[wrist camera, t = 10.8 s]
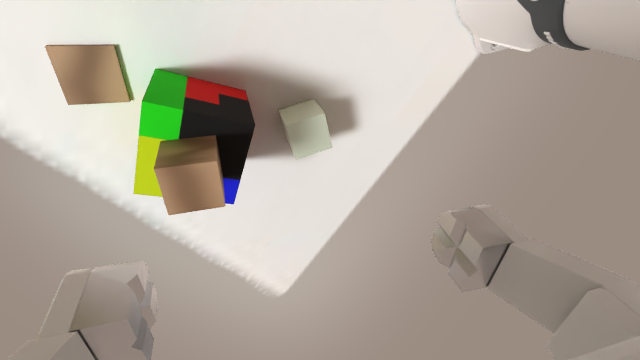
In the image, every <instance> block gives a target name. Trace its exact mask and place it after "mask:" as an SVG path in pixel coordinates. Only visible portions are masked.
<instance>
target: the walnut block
mask: <svg viewBox="0 0 640 360" xmlns="http://www.w3.org/2000/svg"><path fill="white" fill-rule="evenodd" d="M154 171H155V174H156V177H157V180H158V184H159V187H160V190H161V193H162V196H163V199H164V202H165V205H166V208H167V211H168V215H173V214H180V213H186V212H192V211H199V210H205V209H212V208H218V207H224V206H225V195H224V182H223V174H222V168H221V163H220V157H219V152H218V146H217V141H216V135H213V136H203V137H194V138H184V139H175V140H165V141H160V145H159V149H158V153H157V158H156V162H155V166H154Z"/></svg>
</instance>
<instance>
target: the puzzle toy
mask: <svg viewBox="0 0 640 360" xmlns="http://www.w3.org/2000/svg"><path fill="white" fill-rule="evenodd" d="M254 127H255V123H254V119H253V116H252V112H251V109H250V105H249V101H248V98H247V94H246V91H244V90H240V89H236V88H232V87H228V86H224V85H220V84H216V83H212V82H208V81H204V80H200V79H196V78H192V77H187V76H183V75H179V74H175V73H171V72H167V71H163V70H159V69H155V71H154V73H153V76H152V78H151V81H150V83H149V85H148V88H147V90H146V93H145V95H144V97H143V100H142V106H141V117H140V128H139V139H138V151H137V162H136V173H135V184H134V194H141V195H151V196H160V197H163V196H162V193H161V190H160V187H159V184H158V180H157V177H156V174H155V171H154V166H155V162H156V158H157V153H158V149H159V145H160V141H165V140H175V139H184V138H194V137H203V136H213V135H216V141H217V146H218V152H219V157H220V163H221V168H222V174H223V182H224V195H225V203H227V204H234V201H235V198H236V194H237V190H238V186H239V183H240V179H241V175H242V172H243V168H244V164H245V161H246V157H247V153H248V150H249V146H250V142H251V138H252V135H253V131H254Z"/></svg>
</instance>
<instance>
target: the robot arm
mask: <svg viewBox="0 0 640 360" xmlns="http://www.w3.org/2000/svg"><path fill="white" fill-rule="evenodd" d="M456 5H457V10H458V13H459V16H460V18H461V20H462V22H463V24H464V25H465V26H466V27H467V29H468V30H469V31H470V32H471V33H472V35H473V38H474V43H475V47H476V50H477V51H478V52H479V53H483V54H489V53H493V52H497V51H501V50H505V49H509V48H513V49H517V50H521V51H526V52H531V51H532V50H533V49H537V48H541V47H544V46H547V45H550V44H553V45H556V46H557V47H560V48H564V49H575V50H582V51H583V50H590V49H593V50H597V51H601V52H605V53H609V54H613V55H617V56H620V57H624V58H628V59H632V60H635V61H639V62H640V0H456ZM437 222H438V224H439V226H440V227H439V228H438V229H437V230H436V231H435V232H434V233H433V237H432V241H431V243H432V250H433V253H434V255H435V257H436V258H437V260H438V261H439V262H440V263H441V264H443V265H445V266H447V267H448V268H449V276H450V277H451V278H452V280H453V281H454V282H455V284H456V285H457V286H458V288H459V289H460V290H461V292H467V291H472V290H476V289H481V288H486V287H488V290H489V291H491V292H493V293H494V294H496V295H497V296H498V297H500V298H502V299H503V300H504V301H506V302H507V303H509V304H510V305H512V306H513V307H515V308H516V309H518V310H519V311H521V312H523V313H524V314H525V315H527V316H528V317H530V318H531V319H533V320H534V321H536V322H537V323H539V324H541V325H542V326H543V327H545V328H546V329H548V330H549V331H551V332H553V333H554V334H553V336H552V337H551V338H550V339H549V341H548V342H547V344H546V349H547V350H548V352H549V353H550V354H551V355H552V356H553V358H554V359H555V360H640V287H639V286H638V285H636V284H635V283H634V282H632V281H631V280H630V279H628V278H626V277H623V276H621V275H619V274H616V273H614V272H611V271H609V270H607V269H604V268H602V267H600V266H597V265H595V264H593V263H590V262H588V261H585V260H583V259H581V258H578V257H576V256H573V255H571V254H569V253H566V252H564V251H561V250H559V249H557V248H554V247H552V246H550V245H547V244H545V243H543V242H540V241H538V240H535V239H531V240H530V239H529V238H527V237H526V236H525V235H524V234H523V233H522V232H521V231H519V230H518V229H517V228H516V227H515V226H514V225H513V224H511V223H510V222H509V221H508V220H507V219H506V218H505V217H503V215H501V214H500V213H499V212H498V211H497V210H496V209H495V208H493V207H492V206H490V205H487V204H486V205H480V206H474V207H469V208H463V209H457V210H451V211H445V212H443V213H442V214H441V215H440V216H439V219H438V221H437ZM148 273H149V270H148V268H147V265H146V263H145V261H135V262H129V263H121V264H114V265H106V266H99V267H95V268H88V269H81V270H74V271H69V272H68V273H67V274H66V275H65V276H64V277H63V279H62V282H61V284H60V286H59V288H58V291H57V293H56V295H55V297H54V300H53V302H52V304H51V307H50V309H49V311H48V313H47V316H46V318H45V320H44V322H43V325H42V327H41V329H40V332H39V334H38V336H37V338H36V339H35V340H30V341H27V342H26V343H25V344H24V345H23V346H22V347H20V348H19V349H18V350H17V351H16V352H15V353H14V354H12V355H11V356H10V357H9V358H8V359H7V360H151V356H152V348H153V341H154V338H153V336H152V333H151V331H150V328H151V327H152V326H153V325H154V323H155V322H156V317H157V296H156V290H155V287H154V284H153V283H152V282H150V281H148V280H147V279H148Z"/></svg>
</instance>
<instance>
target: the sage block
mask: <svg viewBox="0 0 640 360" xmlns="http://www.w3.org/2000/svg"><path fill="white" fill-rule="evenodd" d="M278 111H279V114H280V117H281V120H282V124H283V127H284V130H285V133H286V137H287V140H288V143H289V145H290V148H291V150H292V152H293V155H294V157H295V159H299V158H302V157H305V156H308V155H311V154H314V153H317V152H320V151H323V150H326V149H329V148H332V144H331V140H330V135H329V130H328V125H327V121H326V116H325V113H324V111H323V110H322V109H321V107H320V106H319V104H318V103H317V102H316V100H315V99H312V100H308V101H305V102H302V103H299V104H296V105H293V106H289V107H286V108H283V109H280V110H278Z"/></svg>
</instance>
